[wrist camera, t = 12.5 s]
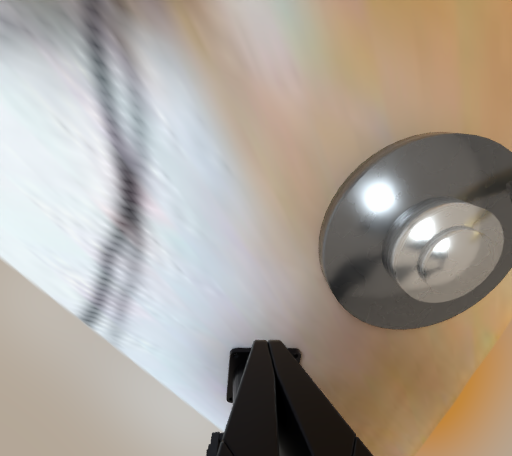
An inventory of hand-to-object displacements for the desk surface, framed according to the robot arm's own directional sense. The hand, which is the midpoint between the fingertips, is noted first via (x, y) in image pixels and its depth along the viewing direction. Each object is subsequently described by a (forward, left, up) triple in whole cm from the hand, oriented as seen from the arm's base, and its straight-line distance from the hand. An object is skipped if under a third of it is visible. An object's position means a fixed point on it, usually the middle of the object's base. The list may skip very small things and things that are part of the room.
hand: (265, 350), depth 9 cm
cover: (-1, -13, -10) cm, 16 cm away
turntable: (0, -14, -12) cm, 18 cm away
